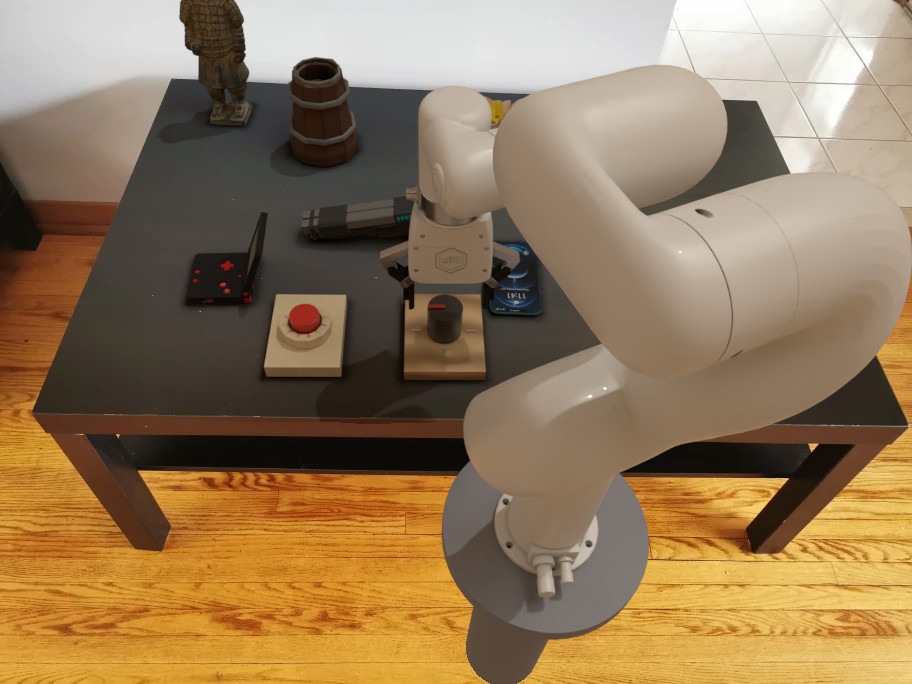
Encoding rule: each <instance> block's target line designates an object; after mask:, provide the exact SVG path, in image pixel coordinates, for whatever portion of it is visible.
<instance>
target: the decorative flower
mask: <svg viewBox="0 0 912 684" xmlns="http://www.w3.org/2000/svg"><path fill="white" fill-rule="evenodd" d="M484 97H485V98H486V100H487V101H488V103H489V105H490V108H491V112H492V123H491V129H495V128H499V125H500V123H501V121H502V119H503V118H504V117H505V115H506V114H507V112H508V111H509V109H511V108H512V107H513V106H514V105H515V104H516V103H517V102H518V101H520V100H522V99H523V98H524V97H522V98H519V99H517V100H515V102H513V103H512V100H511V99H506V100H503V101H501V99H495V100H493V99H492V98H490V97H488V96H485V95H484Z"/></svg>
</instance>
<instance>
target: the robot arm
mask: <svg viewBox="0 0 912 684" xmlns="http://www.w3.org/2000/svg"><path fill="white" fill-rule="evenodd" d="M522 98H523V99H522V100H520V101H518V102H517V103H516V104H515V105H514V106H513V107H512V108H511V109H509V111H508V112H507V114H506V115H505V117H504V118H503V119H502V121H501V123H500V125H499V128H495V129H491V123H492V112H491V108H490V105H489V103H488V101H487V100H486V98H485V95H483V94H481V93H480V92H478V91H476V90H474V89H472V88H470V87H466V86H461V85H460V86H459V85H449V86H448V85H447V86H442V87H439V88H436V89H433V90H432V91H430V92H429V93H427V94H426V96H424V97H423V98H422V100H421V102H420V104H419V107H418V115H417V133H418V134H417V137H418V138H417V141H418V142H417V143H418V145H417V146H418V150H417V152H418V184H416V185H415V186H413V187H412V188H409V187H407V188H405V196H406V200H413V202H415V203H414V206H413V210H412V214H411V220H410V228H409V235H408V240H406V241H404V242H401V243H399V244H398V243H397V244H396V245H393V246H390V247H388V248H386V249H383V250H381V251H379V255H378V256H379V257H378V258H379V259H378V261H379V263H380V264H381V266H382V267H383V268H384V270H386V271H387V274H388V276H390V277H391V278H393V279H394V280H396V281H397V282H399V283H400V285H399V286H400V287H401V288H402V295H403V296H402V297H403V301H405V300H409V310H413V308H414V294H415V283H419V284H438V285H439V284H440V285H441V284H443V285H444V284H447V285H450V284H451V285H458V284H460V285H461V284H462V285H463V284H464V285H465V284H470V285H471V284H481V294H480V295H481V308H482V309H483V310H489V306H490V300H494V291H495V287H497V286H498V282H500V281H501V280H503V279H504V278H506V277H507V276H509V275H510V274H511V271H512V270H513V269H514V268H515V267H516V266H517V265H518V263H519V262H520V254H519V252H518V251H515V250H513V249H511V248H508V247H506V246H503V245H501V244H498V243H496V242H494V225H493V216H492V212H494V211H495V212H496V211H498V210H501V209H504V208H505V210H506V211H507V214H508V216H509V217H510V218H511V220H512V223H513V224H514V225H515V226H516V228H517V229H518V231H519V233H520V235H522V238H523V239H524V240H525V241H526V243H528V244H529V246H530V247H531V248H532V250H533V251H534V253H535V254H536V255H537V259H539V261H540V262H541V264H542V265H543V266H544V267H545V268H546V271H548V273H549V274H550V275H551V277H552V278H553V279H554V281H555V282H556V284H557V285H558V286H559V288H560V289H561V290H562V291H563V293H564V294H565V296H566V297H567V298H568V301H570V303H571V304H572V305H573V307H574V308H575V310H576V311H577V313H578V314H579V316H580V317H581V318H582V319H583V321H584V322H585V323H586V325H587V326H588V328H589V329H590V330H591V332H592V333H593V334H594V336H595V337H596V338H597V339H598V341H599V342H600V343H599V344H597V345H594V346H591V347H588V348H586V349H583V350H579V351H577V352H575V353H572V354H570V355H567V356H564V357H561V358H559V359H556V360H554V361H553V360H552V361H551V362H548V363H545V364H542V365H540V366H537V367H535V368H533V369H530V370H527V371H524V372H523V373H520V374H518V375H515V376H513V377H511V378H509V379H507V380H505V381H502V382H500V383H498V384H497V385H494V386H492V387H490V388H488V389H486V390H484V391H482V392H480V393H478V394H477V395H475V396H474V397H473V398H472V399H471V401H470V402H469V403H468V405H467V408H466V410H465V414H464V417H463V424H462V428H463V429H462V431H463V443H464V447H465V450H466V454H467V456H468V458H469V461H471V462H472V464H473V466H474V468H475V469H476V471H477V472H478V473H479V475H480V476H481V477H482V478H483V479H484V480H485V481H486V482H487V483H488V484H489V485H490V486H492V487H493V488H494V489H496V490H498V491H499V492H502V493H504V494H503V495H502V497H501V498H500V500H499V503H498V505H497V508H496V512H495V519H494V527H495V533H496V537H497V540H498V542H499V545H500V547H501V548H502V550H503V551H504V553H505V554H506V555H507V557H508V558H509V559H510V560H511V561H512V562H513V563H515V564H516V565H517V566H519V567H520V568H522V569H524V570H526V571H527V572H530V573H533V574H536V575H537V577H538V579H537V586H538V596H540V597H545V598H547V597H552V596H555V595H556V594H555V585H554V578H553V576H561V581H562V585H564V586H570V585H573V584H574V580H573V573H572V572H573V571H575V570H577V569H578V568H579V567H581V566H582V565H583V564H584V563H585V562H586V561H587V560H588V558H589V557H590V556H591V554H592V552H593V550H594V548H595V545H596V543H597V538H598V521H597V517H596V512H597V510H598V508H599V506H600V504H601V502H602V500H603V498H604V496H605V494H606V492H607V490H608V488H609V487H610V485H611V483H612V480H613V479H614V477H615V475H616V474H618V473H620V474H621V473H622V472H624V471H626V470H629V469H631V468H633V467H635V466H638V465H640V464H642V463H644V462H646V461H648V460H651V459H653V458H655V457H656V456H658V455H660V454H662V453H664V452H666V451H668V450H670V449H672V448H674V447H678V446H680V445H684V444H689V443H694V442H701V441H709V440H712V439H716V438H722V437H725V436H726V437H727V436H732V435H736V434H737V435H738V434H742V433H746V432H750V431H755V430H758V429H761V428H764V427H767V426H770V425H773V424H777V423H779V422H782V421H784V420H786V419H789V418H792V417H793V416H796V415H799V414H800V413H802V412H805V411H807V410H808V409H811V408H812V407H815V405H818V404H820V402H823V401H825V400H826V399H827V398H829V397H831V396H832V395H833V394H834V393H836V392H837V391H838V390H840V389H841V388H843V387H844V386H845V385H846V384H848V383H849V382H850V381H851V380H852V379H854V378H855V377H856V376H857V375H858V374H860V373H861V372H862V371H863V370H864V369H865V368H866V367H867V366H868V365H869V364H870V363H871V361H872V360H873V359H874V358H875V357H876V356H877V354H878V353H879V352H880V351H881V349H882V348H883V346H884V345H885V344H886V343H887V341H888V339H889V338H890V336H891V334H892V332H893V331H894V329H895V327H896V325H897V323H898V321H899V318H900V316H901V314H902V311H903V308H904V305H905V303H906V301H907V297H908V296H907V295H908V292H909V288H910V283H911V277H912V235H911V231H910V228H909V227H910V226H909V225H908V221H907V219H906V217H905V214H904V211H903V210H902V208H901V207H900V204H898V203H897V202H896V200H895V199H894V198H893V197H892V196H891V195H890V194H889V193H888V192H887V191H886V190H885V189H884V188H882V187H881V186H879V185H877V184H875V183H873V182H871V181H869V180H867V179H864V178H863V177H859V176H857V175H853V174H850V173H849V174H848V173H843V172H842V173H841V172H835V171H806V172H805V171H804V172H792V173H787V174H781V175H777V176H773V177H769V178H766V179H761V180H759V181H756V182H751V183H747V184H744V185H743V186H738V187H735V188H732V189H729V190H726V191H722V192H718V193H715V194H712V195H709V196H706V197H704V198H699V199H696V200H694V201H691V202H688V203H685V204H682V205H679V206H676V207H673V208H669V209H666V210H663V211H660V212H656V213H653V214H649V215H647V214H645V213H643V212H642V210H640V209H644V208H646V207H649V206H652V205H657V204H660V203H663V202H665V201H668V200H671V199H673V198H676V197H678V196H681V195H682V194H684V193H686V192H688V190H690V189H692V188H693V187H695V186H696V185H697V184H698V183H699V182H701V181H702V180H703V179H704V178H705V177H706V176H707V175H708V174H709V173H710V172H711V171H712V169H713V168H714V167H715V165H716V163H717V162H718V160H719V159H720V157H721V156H722V153H723V150H724V146H725V144H726V140H727V134H728V116H727V115H728V114H727V110H726V108H725V103H724V101H723V100H722V99H723V98H722V97H721V96H720V94H719V93H718V91H717V89H715V87H714V86H713V85H712V84H711V83H710V82H709V81H708V80H707V79H706V78H704V77H703V76H701V75H700V74H698V72H697V73H696V72H694V71H692V70H689V69H687V68H685V67H681V66H676V65H671V64H649V65H642V66H635V67H632V68H628V69H624V70H620V71H615V72H613V73H608V74H603V75H600V76H599V75H598V76H595V77H591V78H587V79H582V80H577V81H573V82H570V83H569V82H568V83H566V84H561V85H557V86H552V87H548V88H545V89H541V90H538V91H535V92H532V93H530V94H528V95H526V96H524V97H522ZM493 256H494V257H496V258H499V259H501V260H504V261H502V262H501V263H499V264H498V265H496V266H494V265H493V264H492V257H493ZM406 257H407V261H406V263H405V264H404V265H402V264H401V263H400V262H398V260H401V259H404V258H406ZM504 503H506V504H507V505H504ZM586 545H588V546H589V547H587V546H586ZM507 546H510V547H511V548H507ZM552 569H553V571H552Z"/></svg>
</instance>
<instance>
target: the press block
mask: <svg viewBox="0 0 912 684" xmlns="http://www.w3.org/2000/svg"><path fill="white" fill-rule="evenodd" d="M300 304H311V305H313V306H315V307H316V308H317V309H318V311H319V316H320V325H319V327H318V328H317V329H316V330H315V331H314V332H312V333H308V334H300V333H297V332H295V331H294V330H293V329H292V327H291V324H290V319H289V313H290V311H291V310H292V309H293V308H294V307H295V306H297V305H300ZM347 312H348V299H347V294H299V293H298V294H295V293H294V294H293V293H292V294H290V293H287V294H285V293H277V294H275V299H274V305H273V311H272V317H271V322H270V327H269V328H270V329H269V335H268V341H267V346H266V351H265V352H266V353H265V358H264V363H263V364H264V365H263V370H264V373H265V376H266V377H267V378H269V377H271V378H275V377H276V378H277V377H279V378H285V377H287V378H288V377H289V378H290V377H291V378H293V377H294V378H303V377H304V378H323V377H324V378H329V377H330V378H342V374H343V372H342V371H343V361H344V348H345V338H346V337H345V335H346V327H347V326H346V324H347Z"/></svg>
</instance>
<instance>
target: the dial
mask: <svg viewBox="0 0 912 684" xmlns="http://www.w3.org/2000/svg"><path fill="white" fill-rule="evenodd" d="M442 294H443V295H438V296H435V297H434V298H432V299H431V300H430V302H429V303H428V308H427V334H428V336H429V337H430V338H431V339H432V340H433V341H434V342H436V343H440V344H449V343H452V342H454V341H456V340H457V339H458V338H459V337H460V335H461V328H462V317H463V305H462V303H461V301H460V300H459V299H458V298H456V297H454V296H452V295H447V294H448V293H442Z"/></svg>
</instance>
